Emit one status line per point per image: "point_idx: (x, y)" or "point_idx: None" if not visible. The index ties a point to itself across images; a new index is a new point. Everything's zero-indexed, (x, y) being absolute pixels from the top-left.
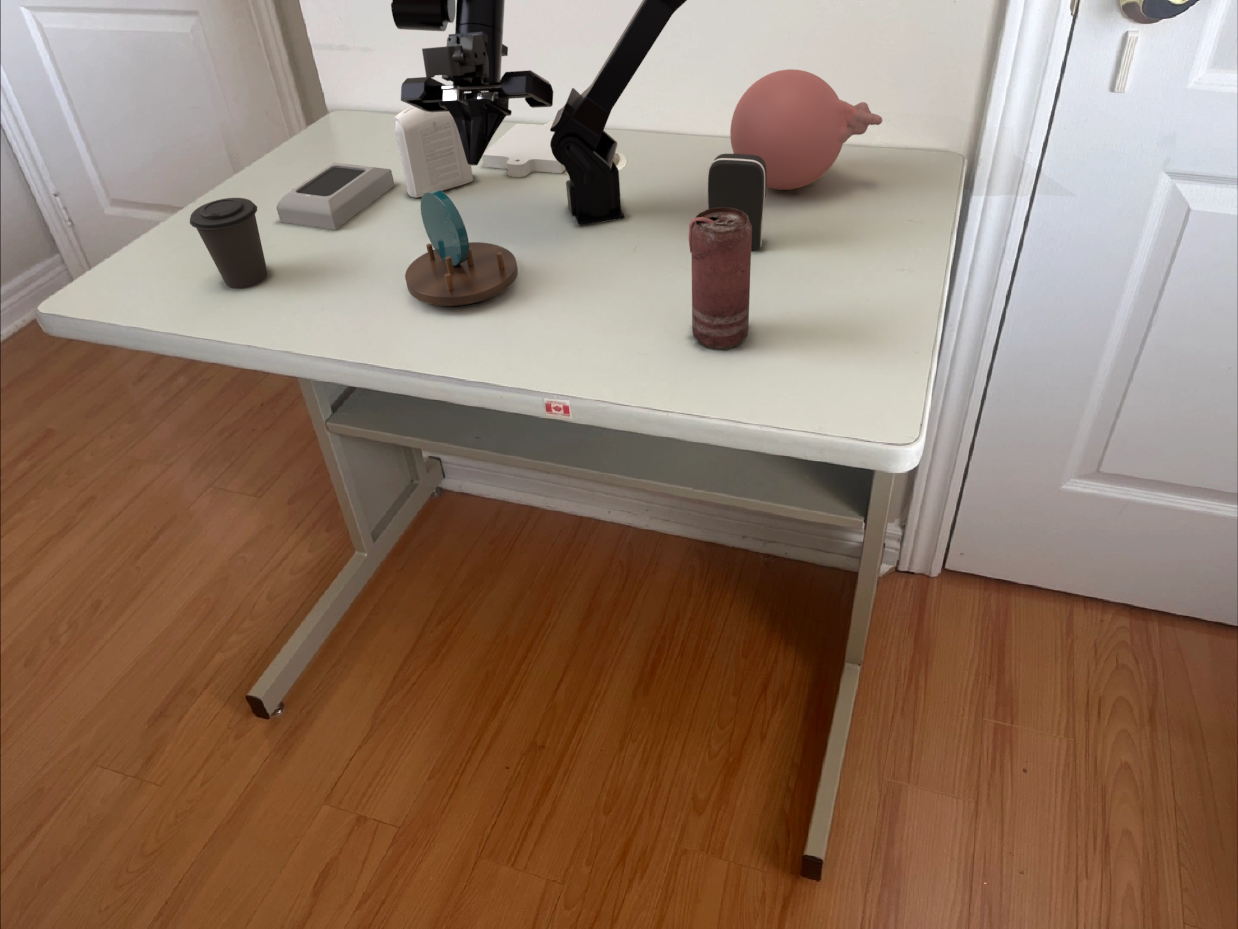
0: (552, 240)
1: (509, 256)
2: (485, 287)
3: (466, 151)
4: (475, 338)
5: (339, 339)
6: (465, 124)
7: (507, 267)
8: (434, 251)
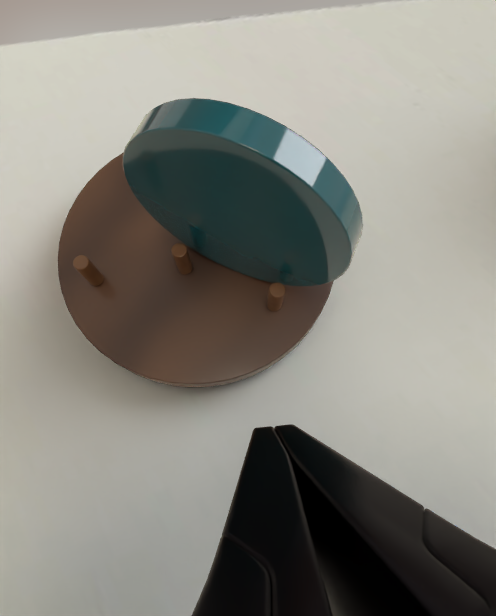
0: (101, 569)
1: (105, 337)
2: (91, 194)
3: (315, 452)
4: (77, 126)
5: (310, 50)
6: (412, 593)
7: (83, 287)
8: (318, 289)
